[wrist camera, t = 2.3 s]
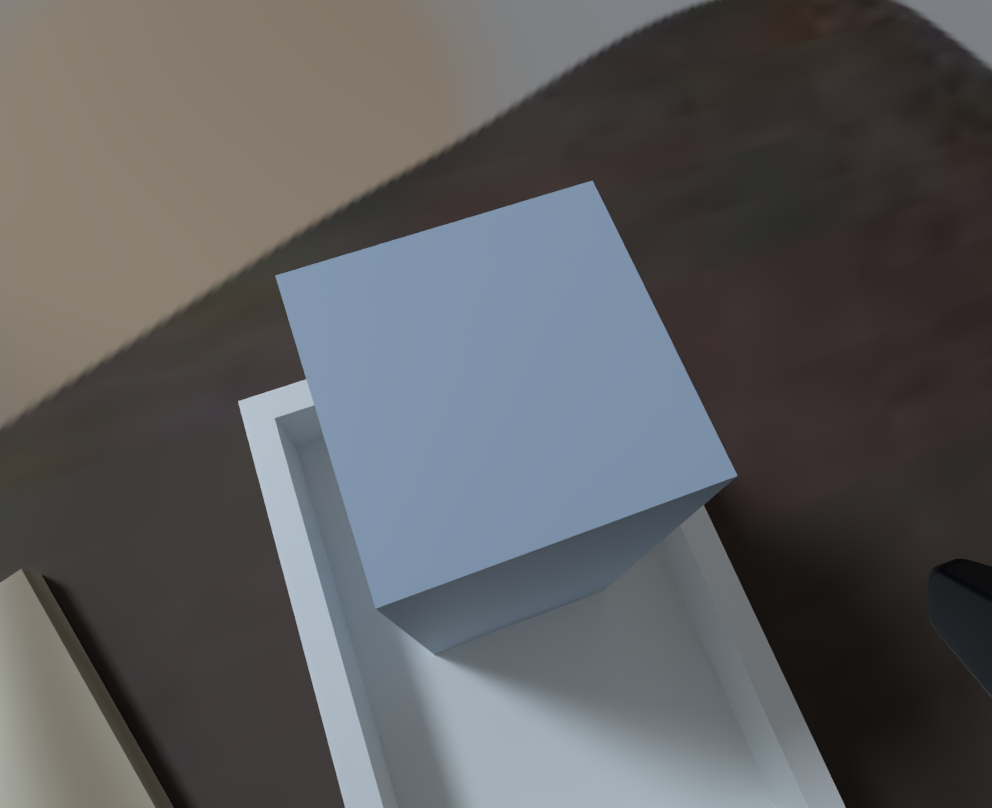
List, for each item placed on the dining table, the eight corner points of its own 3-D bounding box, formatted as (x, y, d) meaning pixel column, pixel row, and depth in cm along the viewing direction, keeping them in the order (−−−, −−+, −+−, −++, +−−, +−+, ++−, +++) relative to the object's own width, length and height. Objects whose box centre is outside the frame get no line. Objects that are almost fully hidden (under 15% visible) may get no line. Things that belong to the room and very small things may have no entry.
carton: (609, 588, 21) (747, 471, 10) (434, 654, 21) (375, 608, 9) (544, 429, 23) (601, 178, 12) (380, 485, 22) (275, 276, 11)
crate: (838, 887, 19) (898, 921, 16) (441, 1069, 18) (433, 1139, 15) (587, 331, 25) (600, 285, 22) (267, 436, 23) (237, 401, 20)
